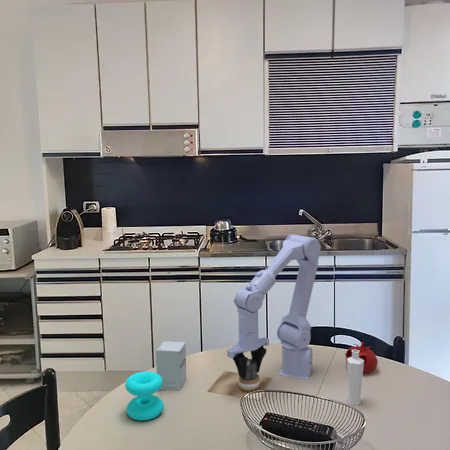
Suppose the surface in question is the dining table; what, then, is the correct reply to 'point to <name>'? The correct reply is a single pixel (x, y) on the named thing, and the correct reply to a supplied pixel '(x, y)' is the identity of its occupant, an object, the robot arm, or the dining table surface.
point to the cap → (251, 370)
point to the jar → (249, 385)
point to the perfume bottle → (355, 377)
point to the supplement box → (171, 364)
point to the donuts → (144, 395)
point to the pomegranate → (364, 357)
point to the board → (234, 384)
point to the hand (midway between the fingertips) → (249, 373)
